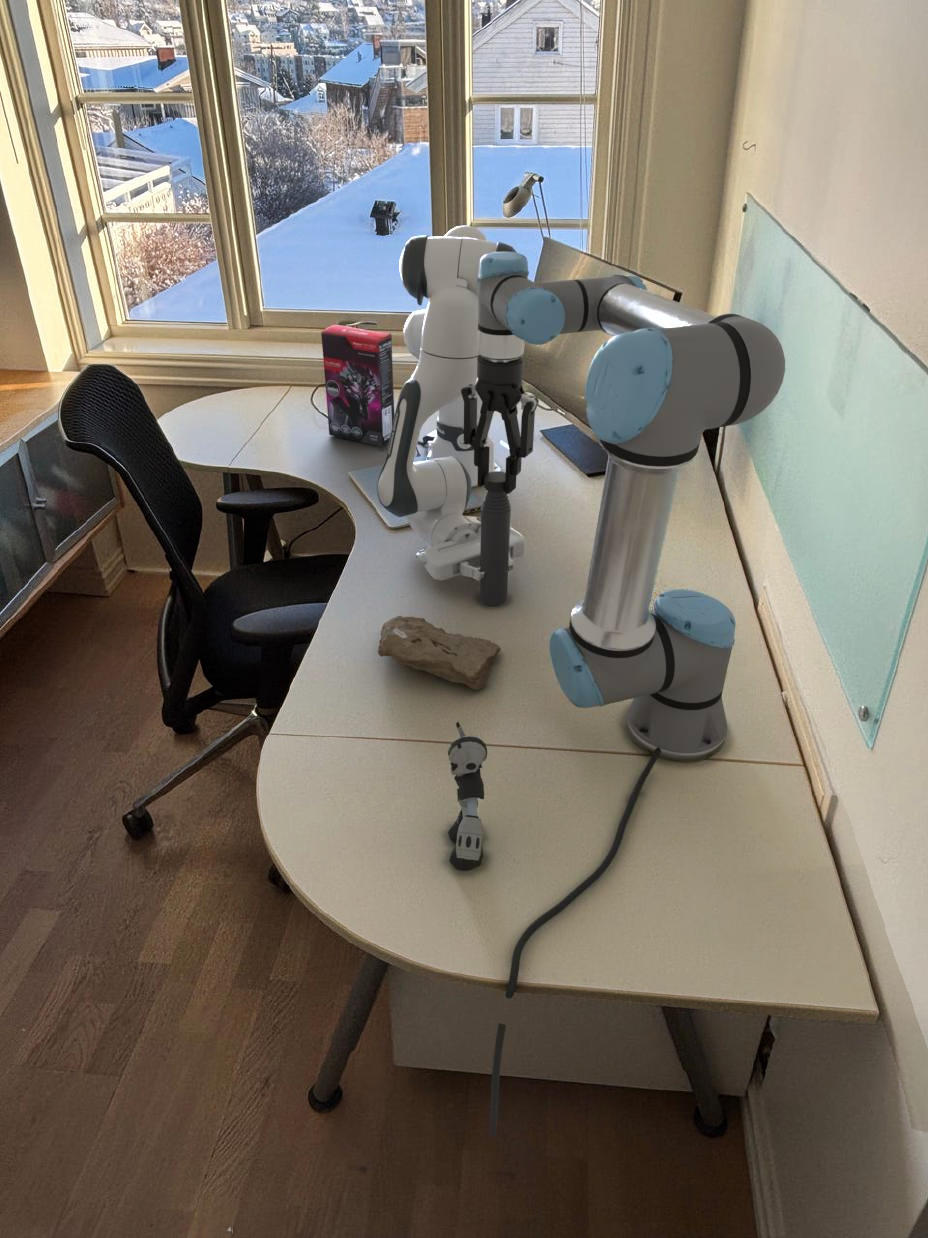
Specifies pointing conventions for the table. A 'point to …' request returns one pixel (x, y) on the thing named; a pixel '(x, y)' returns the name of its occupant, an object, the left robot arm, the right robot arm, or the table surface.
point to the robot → (467, 799)
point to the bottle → (495, 548)
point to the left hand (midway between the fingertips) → (497, 571)
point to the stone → (438, 651)
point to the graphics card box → (359, 384)
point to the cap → (494, 481)
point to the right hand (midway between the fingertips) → (496, 486)
